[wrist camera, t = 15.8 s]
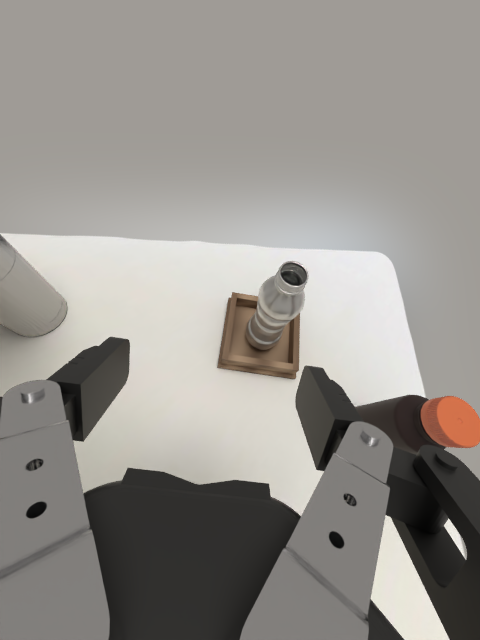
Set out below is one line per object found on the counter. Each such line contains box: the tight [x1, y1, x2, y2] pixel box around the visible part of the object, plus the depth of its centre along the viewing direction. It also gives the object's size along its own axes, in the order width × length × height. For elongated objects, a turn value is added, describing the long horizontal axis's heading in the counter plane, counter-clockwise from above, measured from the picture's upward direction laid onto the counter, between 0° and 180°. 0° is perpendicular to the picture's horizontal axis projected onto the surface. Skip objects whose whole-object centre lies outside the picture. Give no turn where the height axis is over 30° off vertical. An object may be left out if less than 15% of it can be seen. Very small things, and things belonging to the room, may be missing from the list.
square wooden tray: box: [217, 292, 300, 379], centre depth 47 cm, size 14×14×4 cm
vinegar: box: [355, 395, 480, 455], centre depth 35 cm, size 7×7×20 cm
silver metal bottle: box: [246, 261, 308, 350], centre depth 39 cm, size 6×7×20 cm
